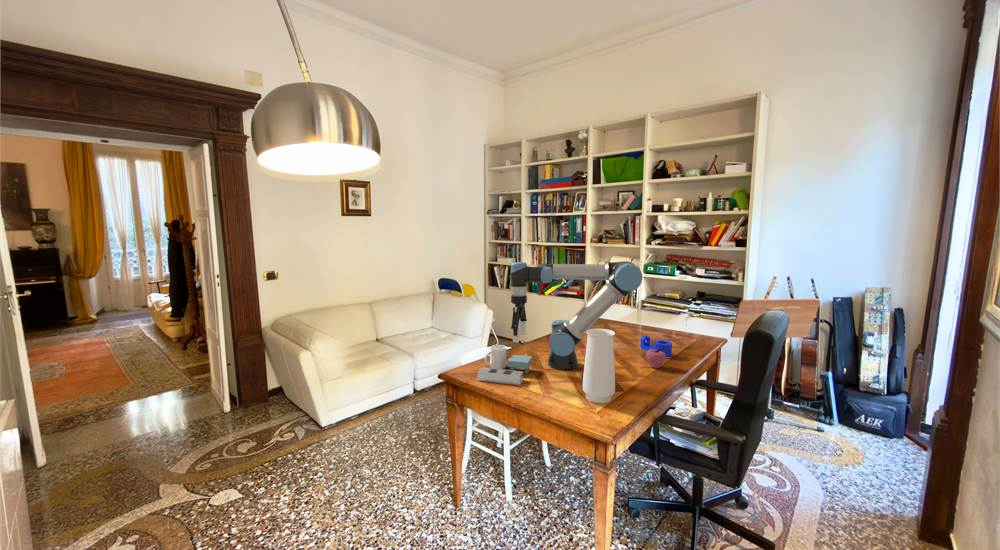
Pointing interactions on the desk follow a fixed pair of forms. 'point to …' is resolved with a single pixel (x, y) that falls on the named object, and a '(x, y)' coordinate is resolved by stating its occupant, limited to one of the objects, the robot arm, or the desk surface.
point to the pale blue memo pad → (519, 362)
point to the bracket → (656, 345)
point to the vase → (599, 366)
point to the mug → (497, 356)
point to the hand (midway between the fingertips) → (519, 338)
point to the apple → (655, 358)
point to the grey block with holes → (500, 376)
